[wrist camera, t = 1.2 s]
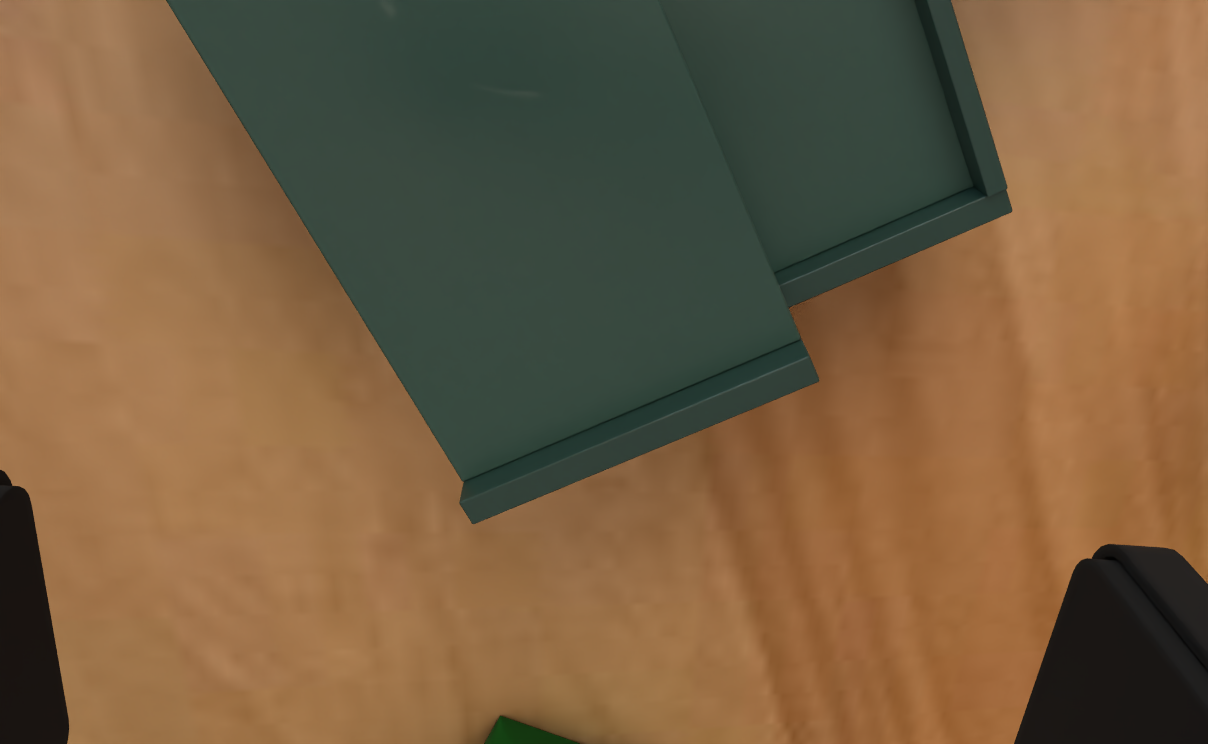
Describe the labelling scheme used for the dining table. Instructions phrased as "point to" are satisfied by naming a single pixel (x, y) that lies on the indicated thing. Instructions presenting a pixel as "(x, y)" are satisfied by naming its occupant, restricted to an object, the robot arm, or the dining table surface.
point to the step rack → (602, 196)
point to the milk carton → (521, 734)
